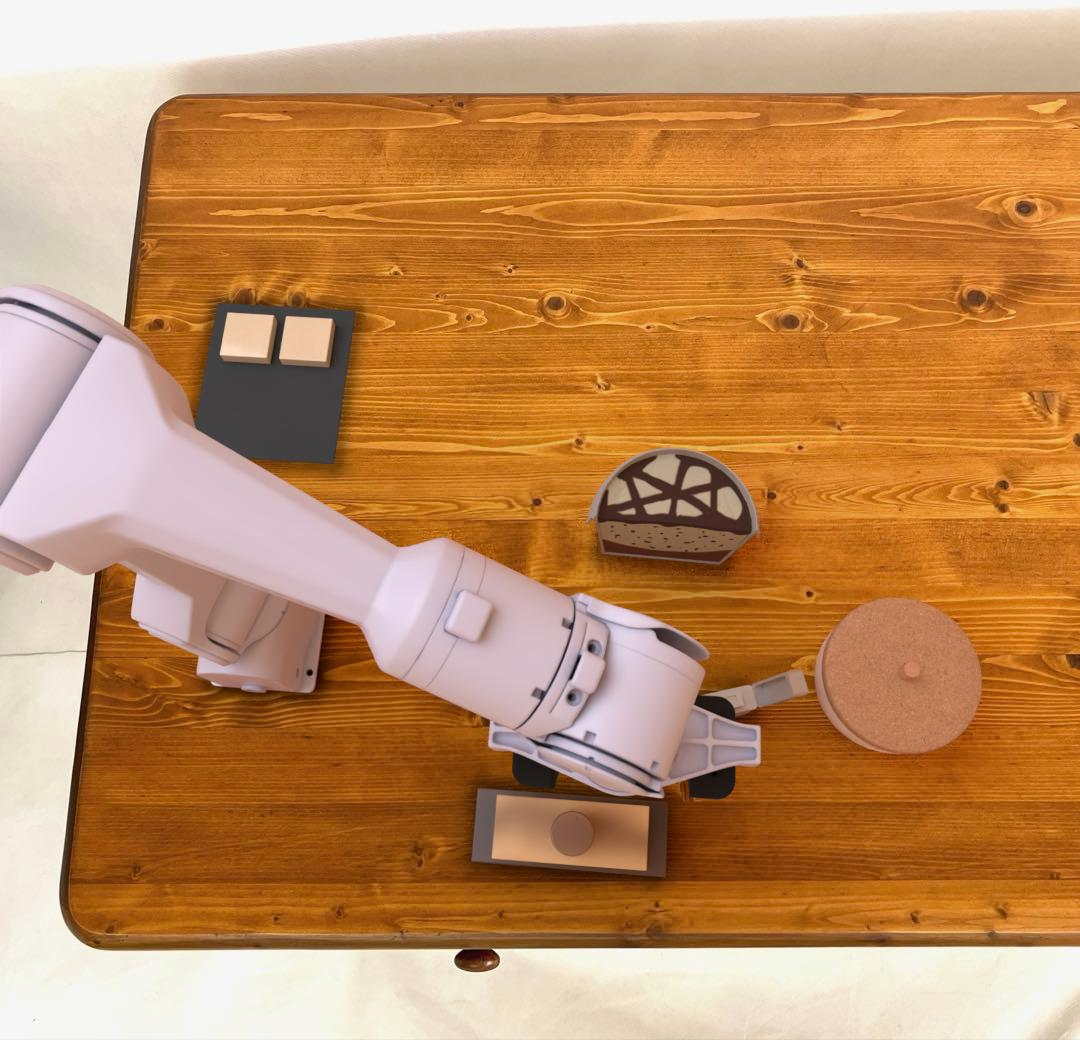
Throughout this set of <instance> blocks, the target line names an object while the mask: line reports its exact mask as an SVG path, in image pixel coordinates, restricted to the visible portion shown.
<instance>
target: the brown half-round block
mask: <svg viewBox="0 0 1080 1040" xmlns="http://www.w3.org/2000/svg"><path fill="white" fill-rule="evenodd" d="M593 520H594V522H595V527H596V528H595V529H596V532H597V535H598V536H597V537H598V541H599V546H600V550H601V554H602V555H610V556H621V557H632V558H643V559H652V560H663V561H664V560H665V561H674V562H683V563H684V562H686V563H696V564H706V565H717V566H718V565H719V566H720V565H721V566H722V564H723V563H725V562H726V561H727V560H728V559H729V558H730V557H731V556H732V555H734V553H736V551H738V550H739V549H740V548H741V547H742V546H743V545H744V544H746V543H747V542H748V541H749V540H750V539H751V538H752V537H753V536H755V534H756V539H757V540H760V539H761V537H760V536H761V534H760V533H761V532H760V520H759V515H758V510H757V506H756V504H755V502H754V498H753V496H752V495H751V493H750V490H749V489H748V488H747V485H746V484H745V483H744V482H743V481H742V479H741V478H740V477H739V475H737V473H735V472H734V471H733V470H732V469H731V468H730V467H729V466H728V465H726V464H725V463H723V462H722V461H720V460H719V459H717V458H715V457H713V456H711V455H709V454H707V453H704V452H701V451H699V450H695V449H690V448H685V447H669V446H667V447H662V448H661V447H660V448H659V447H658V448H653V449H650V450H647V451H643V452H640V453H638V454H636V455H634V456H632V457H630V458H628V459H626V460H625V461H624V462H623V463H621V464H620V465H618V466H617V467H616V468H615V469H614V470H613V471H612V472H611V473H610V474H609V475H608V476H607V477H606V478H605V479H604V481H603V482H602V483H601V485H600V486H599V487H598V489H597V491H596V492H595V494H594V496H593V497H592V501H591V503H590V505H589V509H588V513H587V519H586V524H588V525H589V524H590V523H591V522H592V521H593Z"/></svg>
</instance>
